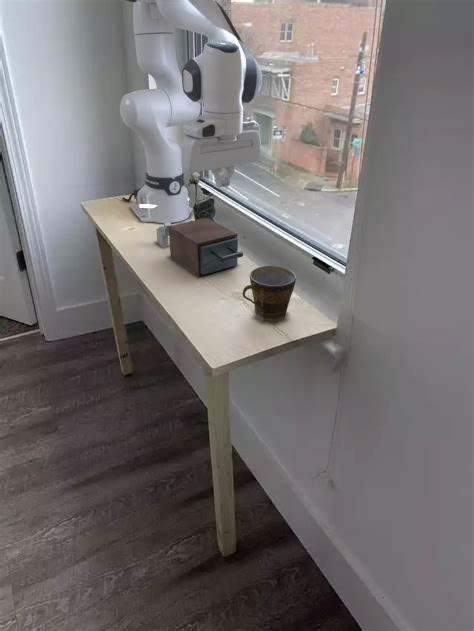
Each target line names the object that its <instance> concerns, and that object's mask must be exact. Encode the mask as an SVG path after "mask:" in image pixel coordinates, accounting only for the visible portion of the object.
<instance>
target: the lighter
mask: <svg viewBox="0 0 474 631" xmlns="http://www.w3.org/2000/svg"><path fill="white" fill-rule="evenodd" d="M171 225H172V223H170V222H166V223H163V225H162V226H161V225H160V226H158V228H156V229H155V230H156V243H157V244H158V245H159V246H161V248H168V247H169V226H171Z"/></svg>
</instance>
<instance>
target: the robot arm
mask: <svg viewBox="0 0 474 631" xmlns="http://www.w3.org/2000/svg"><path fill="white" fill-rule="evenodd" d="M125 1H126V2H130V3H132V4H133V5H132V25H133V27H132V28H133V35H134V37H133V38H134V46H135V55H136V62H137V65H138V67H139V69H140V70H141V71H143V72H144V73H146V74H148V75H150V76H151V77H152V78H153V81H154V82H155V86H156V88H147V89H146V88H145V89H138V90H134V91H131V92H128V93H126V94H123V96H122V98H121V101H120V104H119V114H120V117H121V120H122V122H123V123H124V125H126V127H128V128H129V129H130V130H132V131H133V132H134V133H135V134H136V136H137V137H138V138H139V139H140V141H141V143H142V145H143V149H144V153H145V159H146V160H145V161H146V171H147V172H145V173H144V174H145V175H144V177H145V180H144V182H145V184H144V185H143V186H142V187H141V188H137V189H133V192H132V193H130V195H129V197H128V198H126V197H123V196H122V198H121V200H122V201H123V200H124V201H125V202H130V201H131V200H132V198H133V199H134V200H135V203H134V204H132V205H131V206H130V209H131V210H132V212H133V213H134V214H135V215H136V217H138V219H139V220H140V222H144V223H151V222H152V223H159V224H164V223H166V222H170V223H171V224H172V223H178V222H182V221H185V220H186V219H188V218H189V217H190V214H192V213H193V208H192V207H190V197H189V192H188V188H187V187H186V186H185V172H188V173H190V174H191V173H195V172H197V173H201V172H206V171H211V174H212V175H213V178H214V179H215V186H216V187H217V188H221V187H228V186H231V178H232V177H233V174H234V172H235V167H236V166H242V165H248V164H254V163H259V162H260V160H261V158H262V142H261V126H260V125H259V123H258V122H256V120H250V121H244V107H243V104H249V103H250V102H252V101H253V99H255V97H257V95H258V94H259V92H260V90H261V88H262V85H263V73H262V69H261V67H260V65H259V62H258V61H257V60H256V59H255V58H254V57H253V55H252V54H251V53H250V52H249V50H248V49H247V47H246V46H245V44H244V42H243V40H242V38H241V37H240V35H239V33H238V31H237V30H236V28H235V26H234V25H233V22H232V20H231V18H230V17H229V15H228V14H227V12H226V11H225V9H224V8H223V7H222V6H221V4H220V3H219V2H217V1H215V0H125ZM174 27H175V28H178V29H181V30H185V31H189V32H191V33H192V32H193V33H196V34H199V35H202V36H205V37H207V38H208V39H210V40H211V41H207V42H205V44H204V46H203V49H202V50H203V51H202V52H201V53H200V54H199V55H197V56H195V57H191V58H189V59H188V61H187V62H186V63H185V64H184V66H183V68H182V69H181V70H182V71H180V67H179V64H178V59H177V52H176V46H175V45H176V44H175V35H174ZM201 104H203V107H202V106H201ZM201 107H202V114H201V115H200V113H201ZM172 127H182V131H183V134H185V136H184V137H183V139H182V141H181V147H180V145H179V144H178V143H177V142H175V141H174V140H172V139H170V138H168V135H167V132H166V129H167V128H172ZM222 169H224V170H225V172H224V175H223V176H221V173H222ZM183 170H185V172H183Z"/></svg>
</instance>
